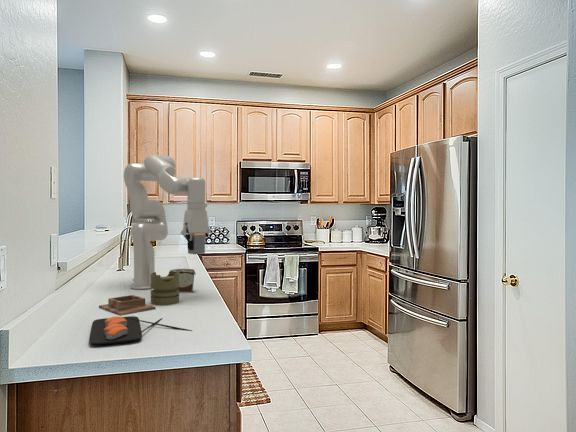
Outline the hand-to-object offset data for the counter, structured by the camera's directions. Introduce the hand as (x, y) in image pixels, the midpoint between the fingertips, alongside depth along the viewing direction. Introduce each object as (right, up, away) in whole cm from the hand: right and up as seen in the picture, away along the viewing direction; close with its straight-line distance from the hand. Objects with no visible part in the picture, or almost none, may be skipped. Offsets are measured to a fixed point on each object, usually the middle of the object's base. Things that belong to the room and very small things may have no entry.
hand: (196, 249), depth 194 cm
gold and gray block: (0, -2, 0) cm, 2 cm away
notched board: (-23, -22, -19) cm, 37 cm away
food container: (-9, -21, +16) cm, 28 cm away
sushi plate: (-7, -23, -49) cm, 55 cm away
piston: (-11, -22, -8) cm, 26 cm away
